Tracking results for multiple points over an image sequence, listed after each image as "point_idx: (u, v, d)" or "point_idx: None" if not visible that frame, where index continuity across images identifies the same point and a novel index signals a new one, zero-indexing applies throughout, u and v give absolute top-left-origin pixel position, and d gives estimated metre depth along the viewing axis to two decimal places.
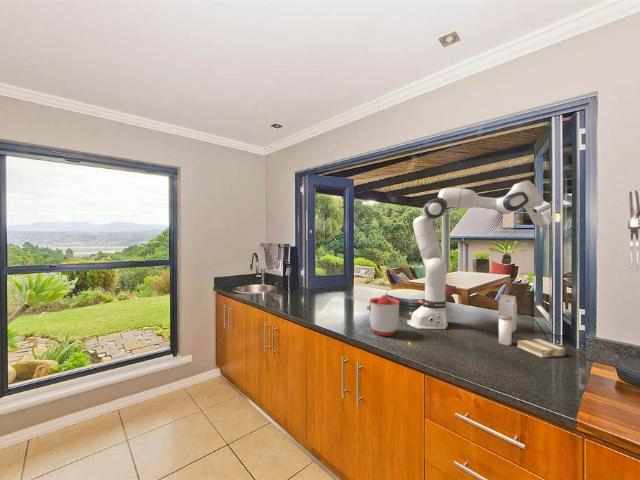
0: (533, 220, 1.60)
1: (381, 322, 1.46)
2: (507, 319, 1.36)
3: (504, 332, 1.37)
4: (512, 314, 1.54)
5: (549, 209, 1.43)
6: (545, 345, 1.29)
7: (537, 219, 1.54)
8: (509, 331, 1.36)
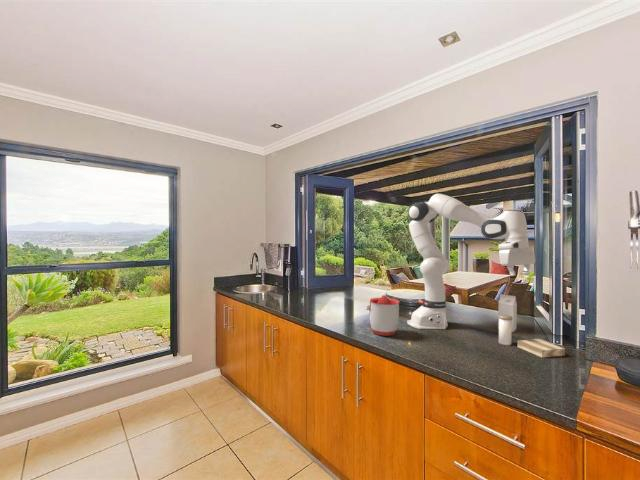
0: None
1: (381, 322, 1.46)
2: (507, 319, 1.36)
3: (504, 332, 1.37)
4: (512, 314, 1.54)
5: (507, 250, 1.28)
6: (545, 345, 1.29)
7: None
8: (509, 331, 1.36)
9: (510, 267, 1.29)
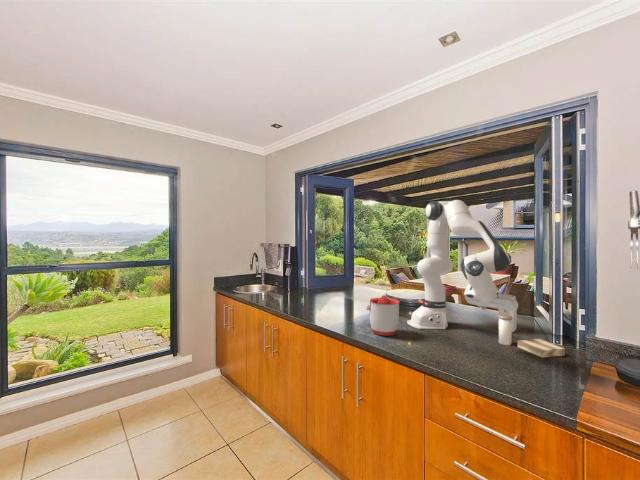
0: None
1: (381, 322, 1.46)
2: (507, 319, 1.36)
3: (504, 332, 1.37)
4: (512, 314, 1.54)
5: None
6: (545, 345, 1.29)
7: None
8: (509, 331, 1.36)
9: None
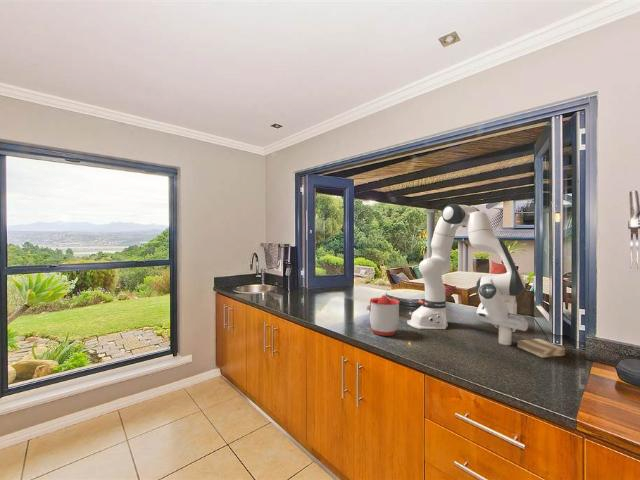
0: None
1: (381, 322, 1.46)
2: None
3: (504, 332, 1.37)
4: None
5: None
6: (545, 345, 1.29)
7: None
8: (509, 331, 1.36)
9: None
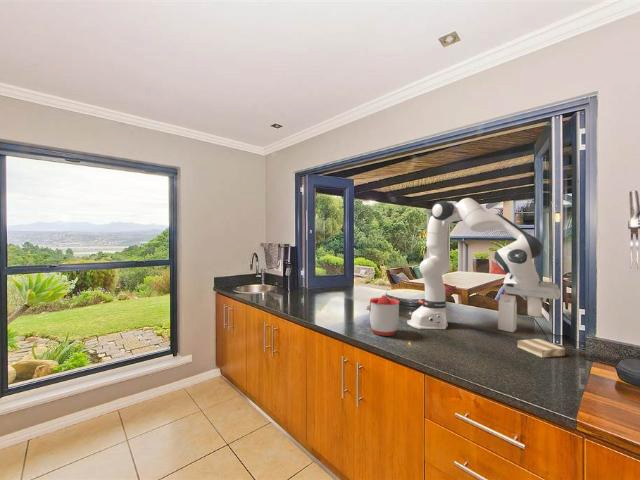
0: None
1: (381, 322, 1.46)
2: None
3: (533, 303, 1.29)
4: (512, 314, 1.54)
5: None
6: (545, 345, 1.29)
7: None
8: (539, 302, 1.28)
9: None
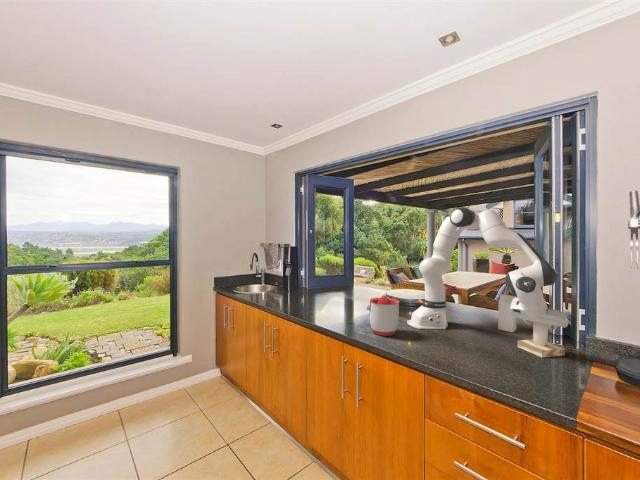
0: None
1: (381, 322, 1.46)
2: None
3: (539, 332, 1.28)
4: None
5: None
6: None
7: None
8: (545, 331, 1.27)
9: None
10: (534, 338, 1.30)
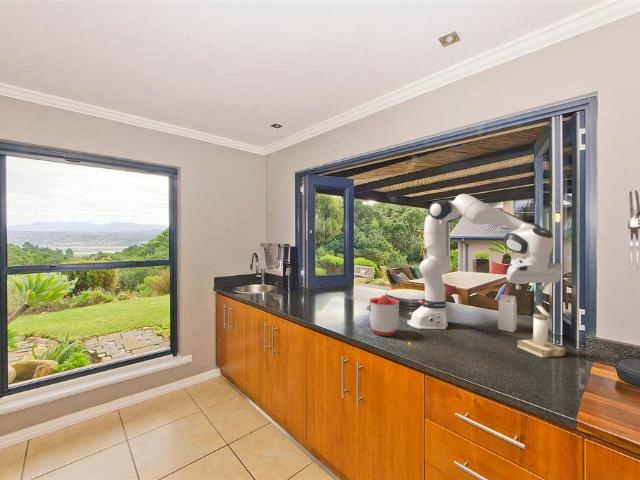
0: None
1: (381, 322, 1.46)
2: (543, 318, 1.27)
3: (539, 332, 1.28)
4: (512, 314, 1.54)
5: (512, 270, 1.30)
6: None
7: None
8: (545, 331, 1.27)
9: None
10: (534, 338, 1.30)
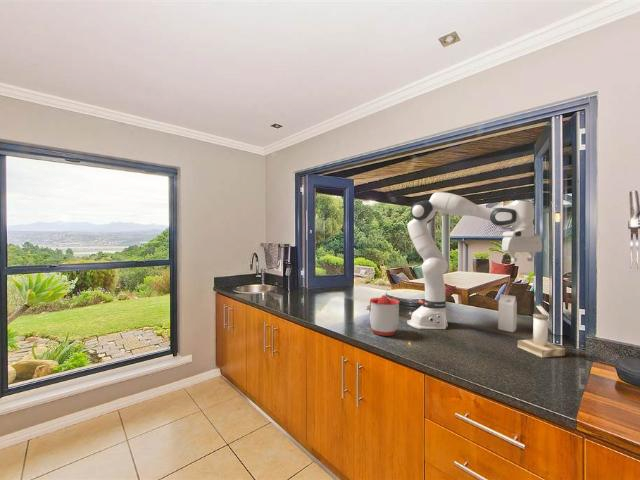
0: None
1: (381, 322, 1.46)
2: (543, 318, 1.27)
3: (539, 332, 1.28)
4: (512, 314, 1.54)
5: (509, 238, 1.38)
6: None
7: None
8: (545, 331, 1.27)
9: (511, 253, 1.40)
10: (534, 338, 1.30)
